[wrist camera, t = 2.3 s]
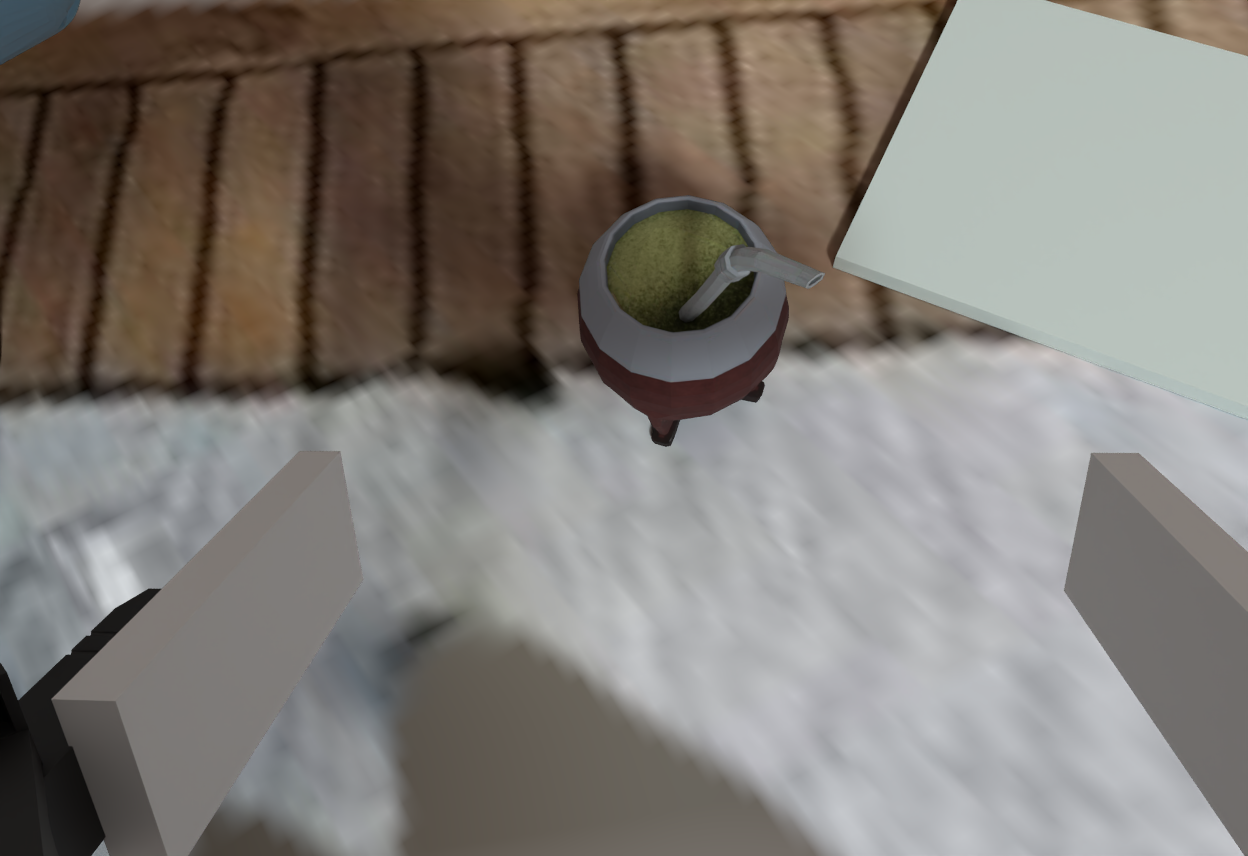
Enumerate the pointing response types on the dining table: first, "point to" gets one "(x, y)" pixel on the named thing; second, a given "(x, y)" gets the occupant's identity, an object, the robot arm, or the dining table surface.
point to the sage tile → (1074, 193)
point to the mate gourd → (685, 309)
